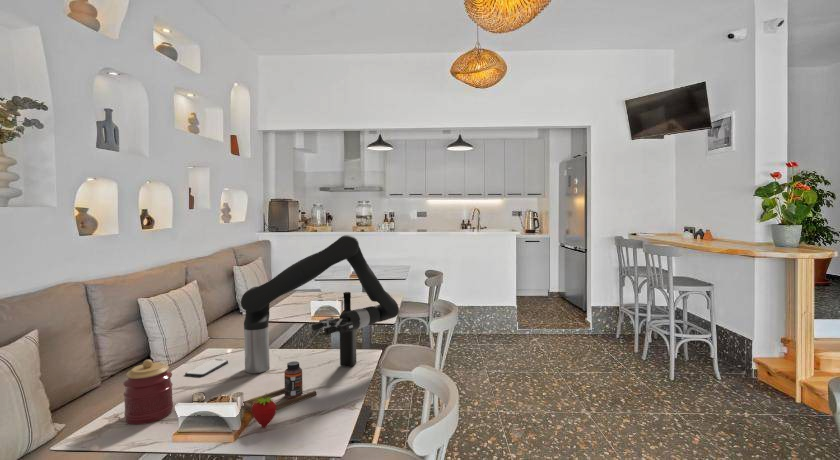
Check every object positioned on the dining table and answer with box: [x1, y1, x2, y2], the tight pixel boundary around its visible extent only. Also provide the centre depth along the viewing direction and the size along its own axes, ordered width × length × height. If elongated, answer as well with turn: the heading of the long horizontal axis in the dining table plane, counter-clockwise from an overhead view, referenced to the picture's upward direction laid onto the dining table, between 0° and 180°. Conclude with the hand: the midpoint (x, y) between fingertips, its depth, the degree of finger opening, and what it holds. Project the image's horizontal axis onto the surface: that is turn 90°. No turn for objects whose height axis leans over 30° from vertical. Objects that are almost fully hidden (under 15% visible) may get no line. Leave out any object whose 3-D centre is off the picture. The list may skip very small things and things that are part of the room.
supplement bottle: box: [283, 360, 304, 399], centre depth 146 cm, size 6×6×11 cm
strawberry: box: [250, 394, 278, 428], centre depth 125 cm, size 6×8×10 cm
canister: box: [122, 359, 174, 425], centre depth 133 cm, size 13×13×18 cm
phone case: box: [184, 358, 229, 378], centre depth 173 cm, size 9×2×16 cm
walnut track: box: [242, 387, 317, 412], centre depth 143 cm, size 11×21×1 cm, turn 137°
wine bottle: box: [339, 291, 357, 368], centre depth 175 cm, size 6×6×30 cm
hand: (318, 329), depth 153 cm, fingers open, 8 cm apart
